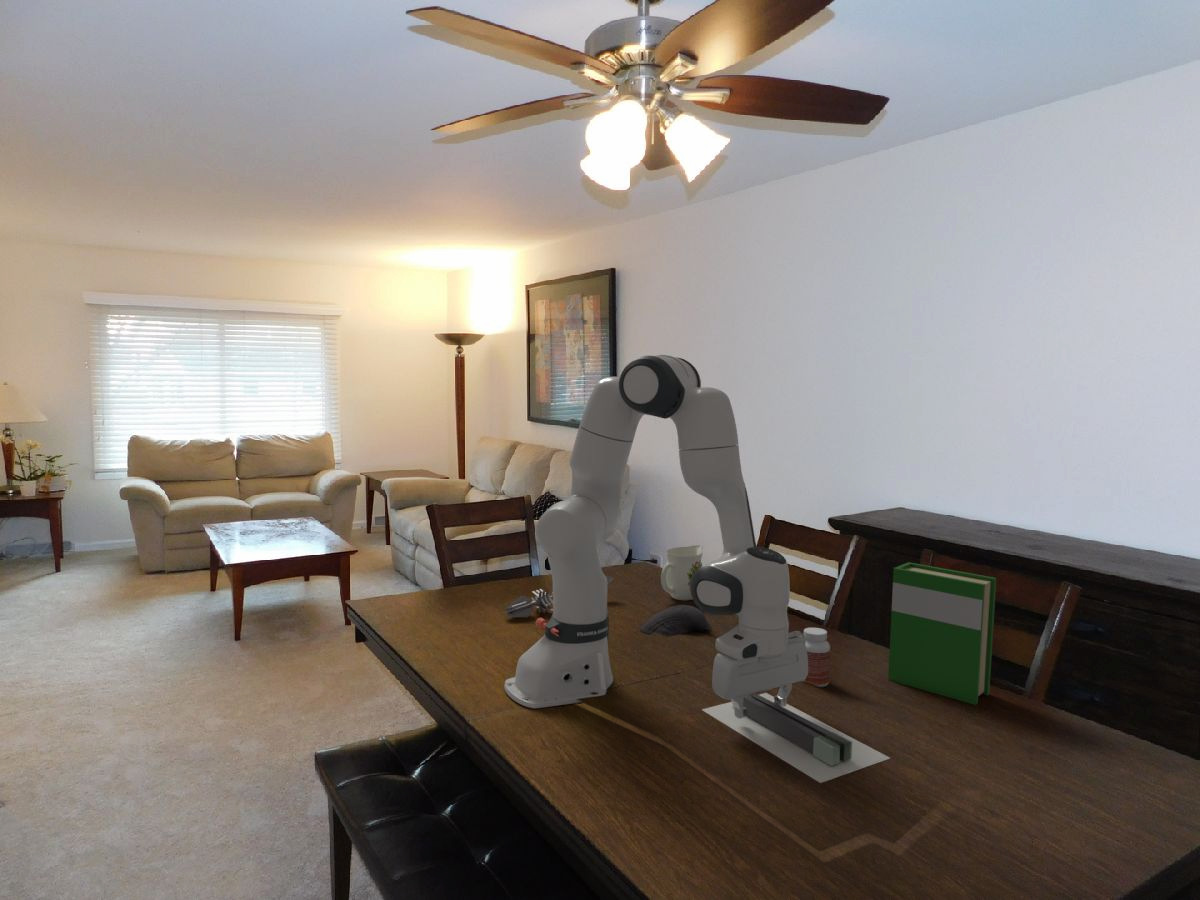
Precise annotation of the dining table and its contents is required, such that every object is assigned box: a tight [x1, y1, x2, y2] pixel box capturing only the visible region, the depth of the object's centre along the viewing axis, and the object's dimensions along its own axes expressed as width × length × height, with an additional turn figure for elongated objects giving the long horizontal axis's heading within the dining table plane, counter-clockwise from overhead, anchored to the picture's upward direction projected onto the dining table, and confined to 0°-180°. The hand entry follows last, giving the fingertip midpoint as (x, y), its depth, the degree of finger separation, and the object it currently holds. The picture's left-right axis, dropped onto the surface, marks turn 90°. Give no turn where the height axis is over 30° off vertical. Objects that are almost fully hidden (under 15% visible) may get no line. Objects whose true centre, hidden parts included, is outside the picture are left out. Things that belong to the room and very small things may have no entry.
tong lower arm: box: [732, 694, 840, 766], centre depth 137 cm, size 26×4×4 cm, turn 30°
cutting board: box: [701, 692, 891, 784], centre depth 138 cm, size 16×30×1 cm, turn 30°
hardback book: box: [887, 561, 997, 706], centre depth 160 cm, size 18×7×24 cm, turn 46°
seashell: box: [639, 604, 712, 637], centre depth 195 cm, size 14×19×8 cm
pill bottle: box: [802, 627, 831, 688], centre depth 162 cm, size 6×6×11 cm
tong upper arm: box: [750, 693, 852, 761], centre depth 136 cm, size 22×2×3 cm, turn 32°
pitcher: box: [660, 544, 704, 601], centre depth 222 cm, size 11×18×14 cm, turn 137°
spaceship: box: [504, 575, 614, 618], centre depth 211 cm, size 8×35×8 cm
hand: (760, 711), depth 143 cm, fingers open, 8 cm apart
